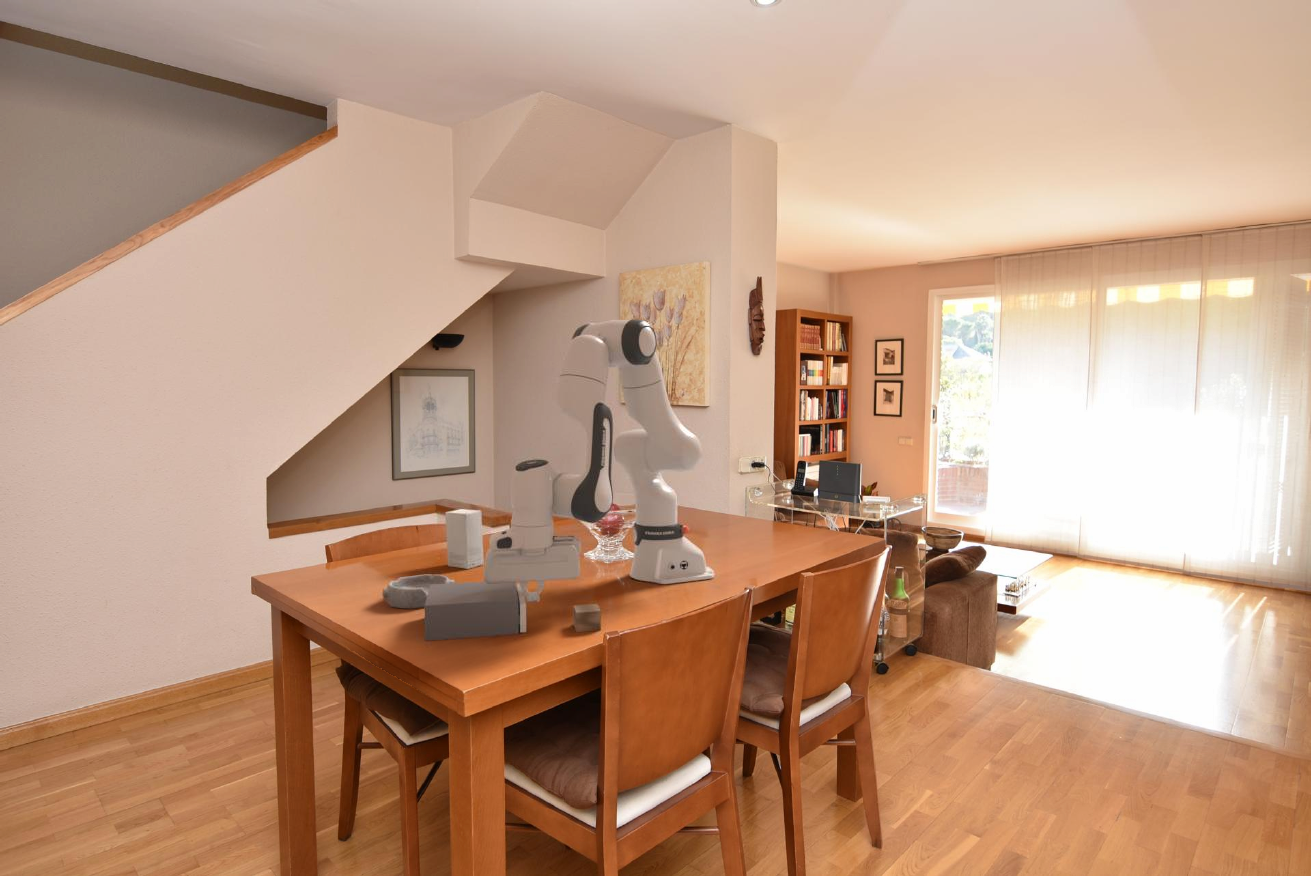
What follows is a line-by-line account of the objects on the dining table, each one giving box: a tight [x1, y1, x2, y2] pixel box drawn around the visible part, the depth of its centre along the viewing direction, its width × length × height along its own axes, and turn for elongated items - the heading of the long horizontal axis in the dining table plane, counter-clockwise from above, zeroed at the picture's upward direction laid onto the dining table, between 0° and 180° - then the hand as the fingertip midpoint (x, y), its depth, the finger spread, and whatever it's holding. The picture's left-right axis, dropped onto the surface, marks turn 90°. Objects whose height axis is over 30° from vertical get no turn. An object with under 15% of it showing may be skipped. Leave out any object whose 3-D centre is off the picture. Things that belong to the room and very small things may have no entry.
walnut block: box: [572, 603, 602, 633], centre depth 148 cm, size 5×5×4 cm
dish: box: [382, 573, 455, 609], centre depth 167 cm, size 14×14×5 cm
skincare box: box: [444, 508, 485, 570], centre depth 201 cm, size 8×7×16 cm
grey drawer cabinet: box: [424, 580, 520, 642], centre depth 150 cm, size 18×16×7 cm
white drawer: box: [516, 583, 527, 633], centre depth 150 cm, size 18×16×6 cm
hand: (532, 601), depth 152 cm, fingers closed
